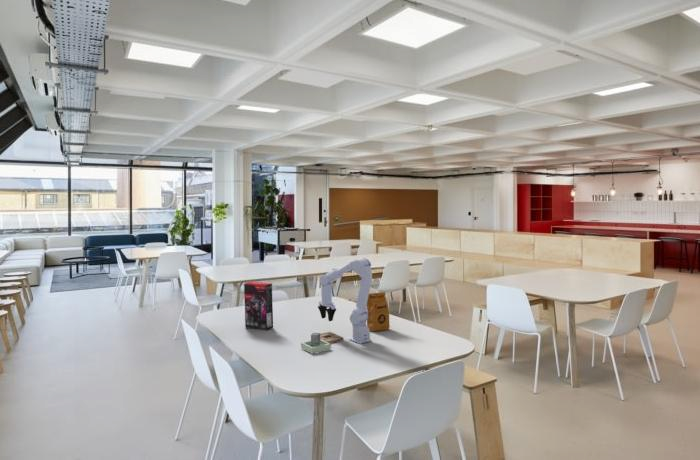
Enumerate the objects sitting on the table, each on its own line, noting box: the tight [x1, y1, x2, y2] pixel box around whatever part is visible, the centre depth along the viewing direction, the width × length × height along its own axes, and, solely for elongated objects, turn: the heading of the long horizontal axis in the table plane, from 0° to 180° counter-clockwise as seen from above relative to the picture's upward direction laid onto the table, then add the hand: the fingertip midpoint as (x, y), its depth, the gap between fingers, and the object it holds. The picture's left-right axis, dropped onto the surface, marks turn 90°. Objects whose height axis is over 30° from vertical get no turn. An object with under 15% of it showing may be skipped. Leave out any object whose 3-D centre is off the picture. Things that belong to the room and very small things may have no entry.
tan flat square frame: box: [320, 331, 344, 344], centre depth 235 cm, size 14×12×2 cm
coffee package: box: [366, 291, 391, 332], centre depth 251 cm, size 10×12×22 cm
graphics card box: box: [243, 281, 274, 331], centre depth 258 cm, size 17×7×27 cm, turn 62°
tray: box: [300, 339, 332, 355], centre depth 219 cm, size 11×11×3 cm
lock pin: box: [310, 332, 321, 347], centre depth 219 cm, size 4×4×7 cm
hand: (327, 319), depth 244 cm, fingers open, 7 cm apart
